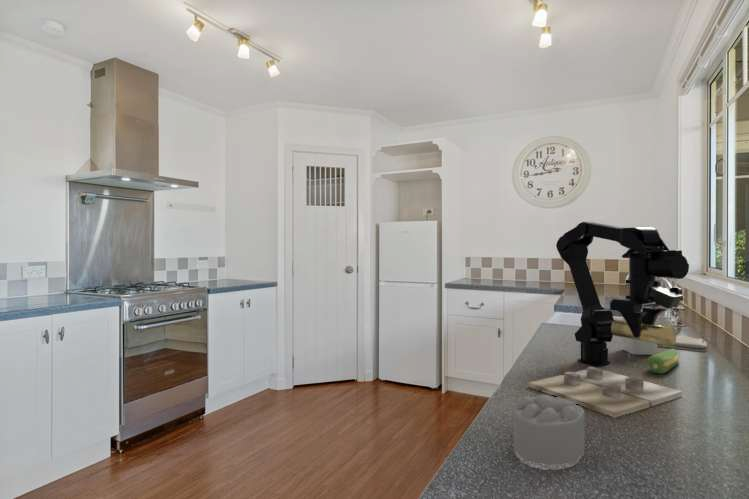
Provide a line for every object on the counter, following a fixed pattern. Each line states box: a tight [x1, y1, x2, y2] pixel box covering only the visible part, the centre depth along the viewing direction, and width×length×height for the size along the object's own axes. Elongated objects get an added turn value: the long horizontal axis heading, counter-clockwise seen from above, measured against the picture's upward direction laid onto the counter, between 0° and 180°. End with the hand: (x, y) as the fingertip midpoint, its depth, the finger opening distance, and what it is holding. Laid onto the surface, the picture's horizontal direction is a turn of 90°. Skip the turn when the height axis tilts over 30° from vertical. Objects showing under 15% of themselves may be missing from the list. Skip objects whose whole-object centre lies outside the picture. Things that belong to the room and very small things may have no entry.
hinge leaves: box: [528, 366, 683, 419], centre depth 103 cm, size 22×25×4 cm
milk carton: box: [622, 316, 658, 356], centre depth 139 cm, size 7×7×19 cm
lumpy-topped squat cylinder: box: [512, 393, 586, 464], centre depth 74 cm, size 10×13×9 cm
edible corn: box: [647, 348, 680, 375], centre depth 122 cm, size 5×20×5 cm
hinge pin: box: [611, 318, 678, 346], centre depth 112 cm, size 14×4×4 cm, turn 29°
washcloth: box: [657, 335, 709, 352], centre depth 149 cm, size 12×18×3 cm, turn 55°
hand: (642, 336), depth 112 cm, fingers closed on hinge pin, 4 cm apart
